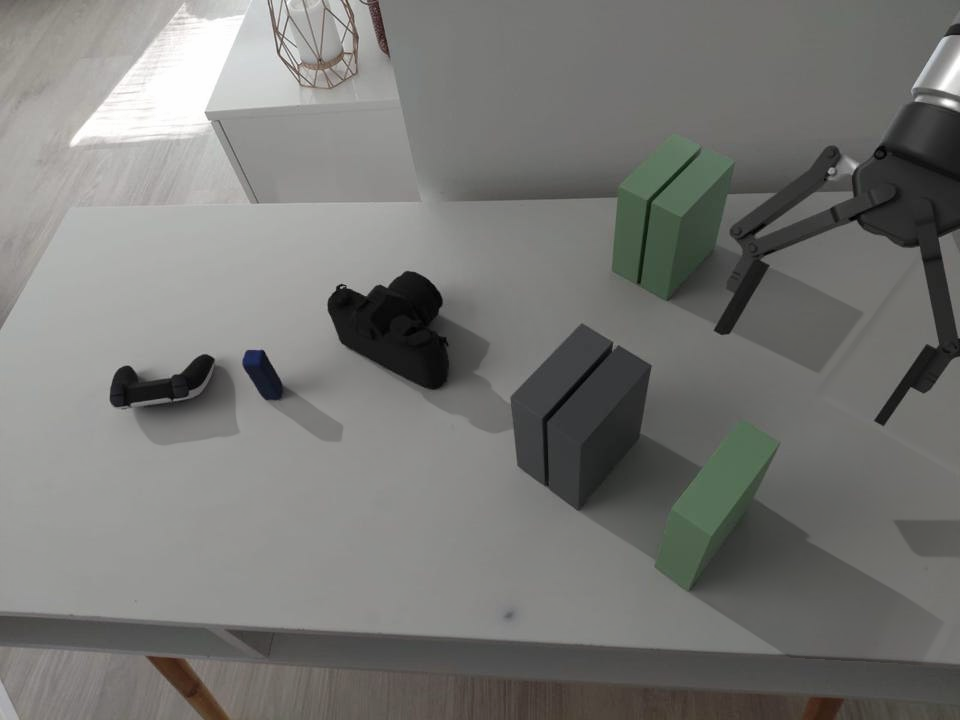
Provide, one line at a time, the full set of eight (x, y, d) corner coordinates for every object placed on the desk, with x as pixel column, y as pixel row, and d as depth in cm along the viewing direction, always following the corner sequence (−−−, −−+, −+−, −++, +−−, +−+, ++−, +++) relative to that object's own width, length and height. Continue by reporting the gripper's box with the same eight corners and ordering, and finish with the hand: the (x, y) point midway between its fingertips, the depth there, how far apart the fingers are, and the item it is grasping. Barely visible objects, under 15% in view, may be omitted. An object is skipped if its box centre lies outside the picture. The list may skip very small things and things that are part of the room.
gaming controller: (130, 403, 86) (101, 419, 79) (120, 365, 85) (90, 378, 78) (223, 388, 86) (202, 404, 79) (215, 350, 85) (193, 362, 78)
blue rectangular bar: (281, 401, 82) (260, 365, 76) (261, 400, 82) (239, 364, 76) (285, 384, 83) (265, 347, 77) (266, 384, 83) (244, 347, 78)
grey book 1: (606, 416, 77) (613, 341, 66) (544, 486, 73) (542, 419, 63) (578, 398, 79) (581, 322, 68) (517, 466, 75) (509, 396, 64)
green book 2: (714, 247, 88) (735, 161, 78) (666, 300, 85) (681, 217, 74) (688, 234, 90) (706, 147, 79) (640, 286, 86) (651, 202, 76)
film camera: (485, 337, 84) (478, 284, 77) (434, 400, 80) (422, 351, 73) (380, 284, 90) (364, 231, 82) (327, 341, 86) (305, 290, 78)
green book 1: (685, 233, 90) (701, 146, 80) (636, 284, 86) (647, 200, 76) (660, 220, 92) (673, 133, 81) (611, 270, 88) (618, 186, 77)
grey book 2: (639, 438, 75) (652, 365, 65) (577, 511, 72) (580, 445, 61) (610, 419, 77) (618, 344, 66) (548, 489, 73) (546, 422, 62)
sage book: (747, 509, 70) (781, 442, 59) (687, 591, 66) (711, 536, 56) (714, 487, 72) (741, 418, 61) (653, 567, 68) (671, 508, 57)
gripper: (1145, 199, 51) (956, 455, 58) (803, 71, 62) (677, 300, 69) (1172, 183, 45) (956, 473, 52) (786, 44, 56) (648, 299, 62)
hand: (796, 375), depth 60 cm, fingers open, 13 cm apart
